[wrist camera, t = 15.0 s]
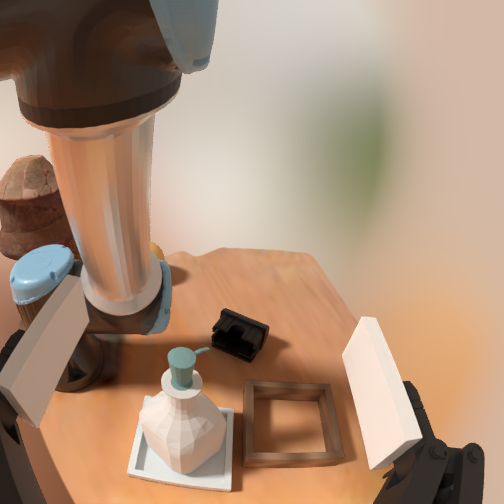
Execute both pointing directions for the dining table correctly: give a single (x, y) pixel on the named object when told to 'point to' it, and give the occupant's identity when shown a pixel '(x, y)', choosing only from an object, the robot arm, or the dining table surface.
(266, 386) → the walnut holder
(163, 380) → the soap bottle
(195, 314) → the dining table surface
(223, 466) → the tray
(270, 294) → the dining table surface
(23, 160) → the pottery vessel
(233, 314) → the end cap
